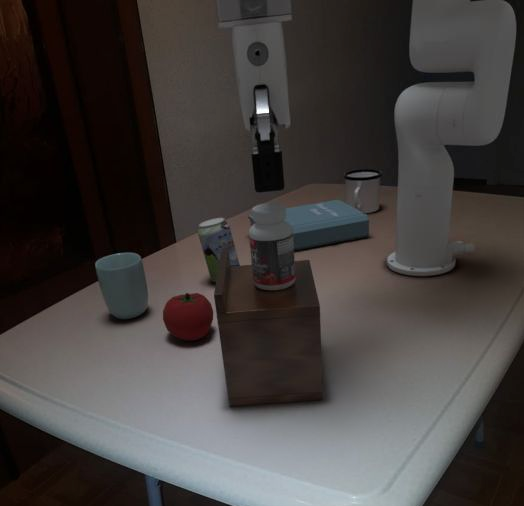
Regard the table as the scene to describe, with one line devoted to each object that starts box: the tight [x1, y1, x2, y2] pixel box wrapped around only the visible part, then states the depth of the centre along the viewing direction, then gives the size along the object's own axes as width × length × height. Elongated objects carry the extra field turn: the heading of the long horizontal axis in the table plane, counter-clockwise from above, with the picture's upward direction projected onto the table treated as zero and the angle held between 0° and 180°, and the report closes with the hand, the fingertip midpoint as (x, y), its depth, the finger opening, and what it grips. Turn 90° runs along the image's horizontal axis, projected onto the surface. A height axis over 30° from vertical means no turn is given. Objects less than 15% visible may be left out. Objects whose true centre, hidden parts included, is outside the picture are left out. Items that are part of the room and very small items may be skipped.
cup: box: [94, 252, 149, 320], centre depth 96 cm, size 8×8×10 cm
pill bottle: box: [248, 202, 296, 290], centre depth 68 cm, size 5×5×10 cm
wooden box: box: [213, 250, 324, 407], centre depth 73 cm, size 12×15×16 cm
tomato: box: [162, 292, 214, 341], centre depth 87 cm, size 8×8×7 cm
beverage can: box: [197, 217, 241, 283], centre depth 105 cm, size 6×7×12 cm
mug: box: [342, 168, 383, 215], centre depth 139 cm, size 12×10×9 cm
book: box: [247, 199, 370, 252], centre depth 125 cm, size 23×16×5 cm
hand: (269, 179), depth 65 cm, fingers open, 9 cm apart
